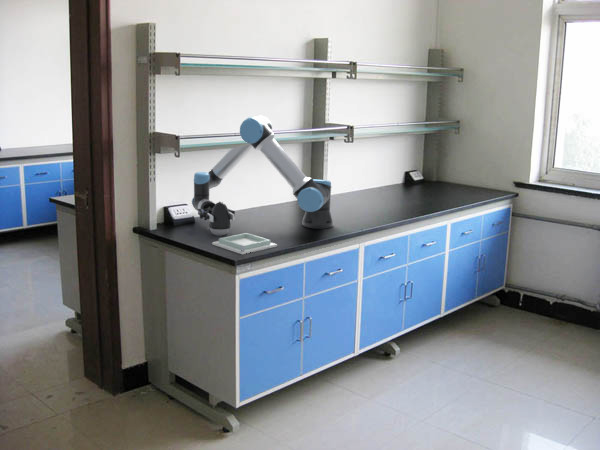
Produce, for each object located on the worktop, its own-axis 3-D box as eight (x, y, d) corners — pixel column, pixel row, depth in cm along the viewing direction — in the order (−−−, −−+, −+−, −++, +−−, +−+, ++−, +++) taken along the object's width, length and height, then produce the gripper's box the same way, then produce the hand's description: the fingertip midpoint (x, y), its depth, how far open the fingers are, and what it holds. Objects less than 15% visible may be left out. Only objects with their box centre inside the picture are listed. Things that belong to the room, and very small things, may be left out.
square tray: (246, 237, 303) (246, 229, 302) (277, 246, 290) (277, 238, 289) (212, 244, 289) (212, 236, 288) (242, 254, 275) (242, 246, 275)
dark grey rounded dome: (230, 231, 312) (230, 199, 309) (231, 237, 302) (232, 204, 299) (208, 231, 311) (208, 199, 307) (209, 237, 301) (209, 204, 297)
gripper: (229, 214, 326) (245, 224, 306) (185, 217, 316) (199, 228, 297) (229, 199, 324) (246, 208, 304) (185, 201, 314) (199, 211, 295)
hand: (223, 218), depth 300 cm, fingers closed on dark grey rounded dome, 9 cm apart
